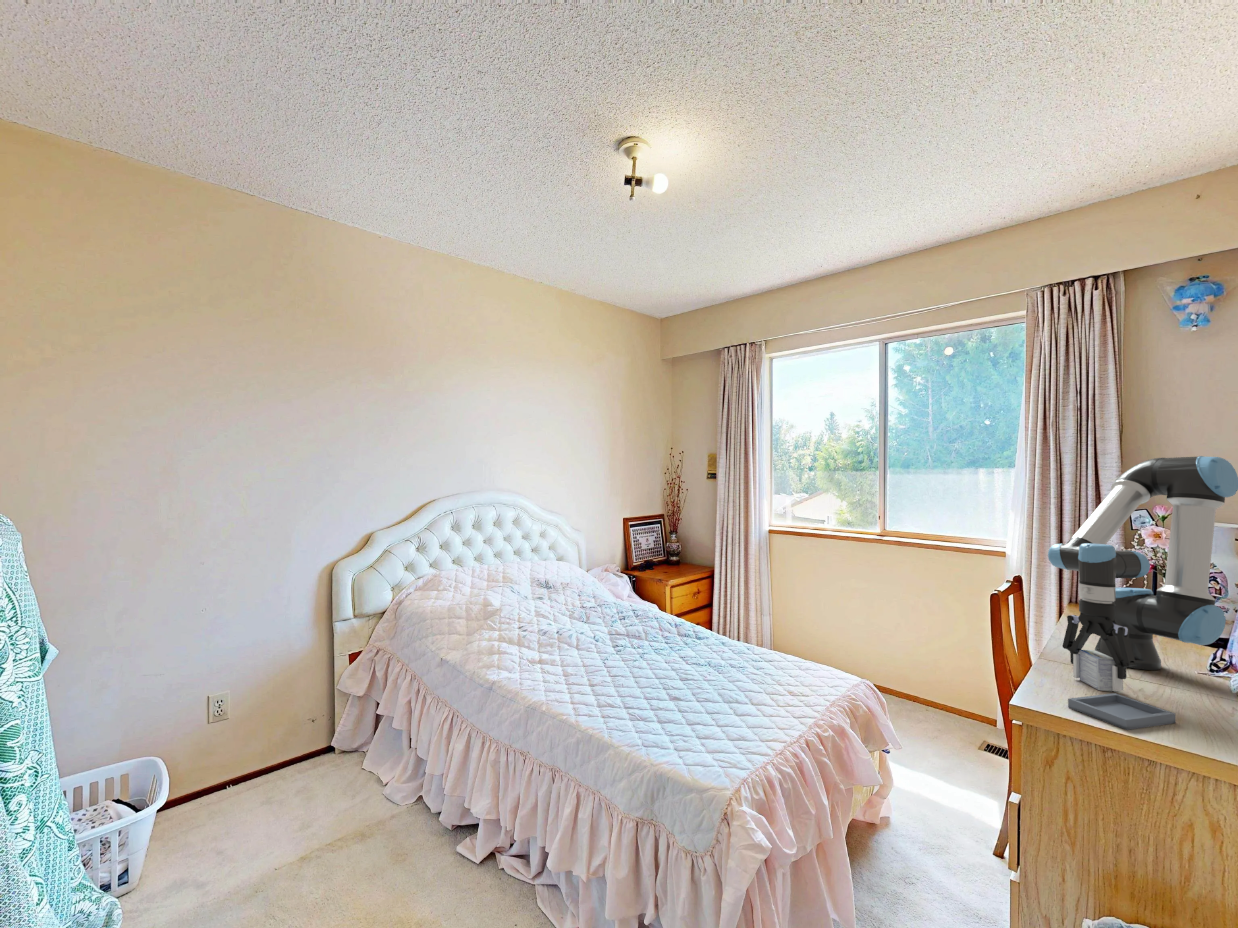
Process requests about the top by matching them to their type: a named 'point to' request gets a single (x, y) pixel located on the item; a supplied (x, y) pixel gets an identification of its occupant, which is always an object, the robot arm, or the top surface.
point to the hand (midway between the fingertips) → (1097, 683)
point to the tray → (1122, 711)
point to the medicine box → (1096, 669)
